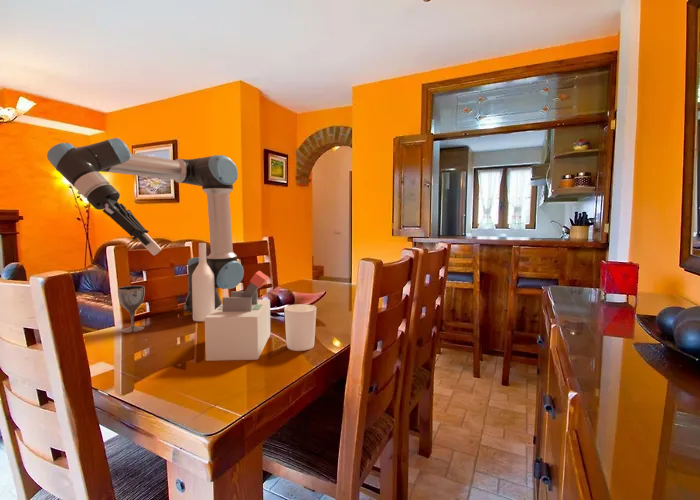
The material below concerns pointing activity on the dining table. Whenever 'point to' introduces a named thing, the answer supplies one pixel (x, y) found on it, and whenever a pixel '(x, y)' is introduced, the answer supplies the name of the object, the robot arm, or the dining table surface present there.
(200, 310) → the bottle
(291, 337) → the candle holder
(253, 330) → the box
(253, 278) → the toggle
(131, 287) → the wine glass
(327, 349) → the dining table surface
